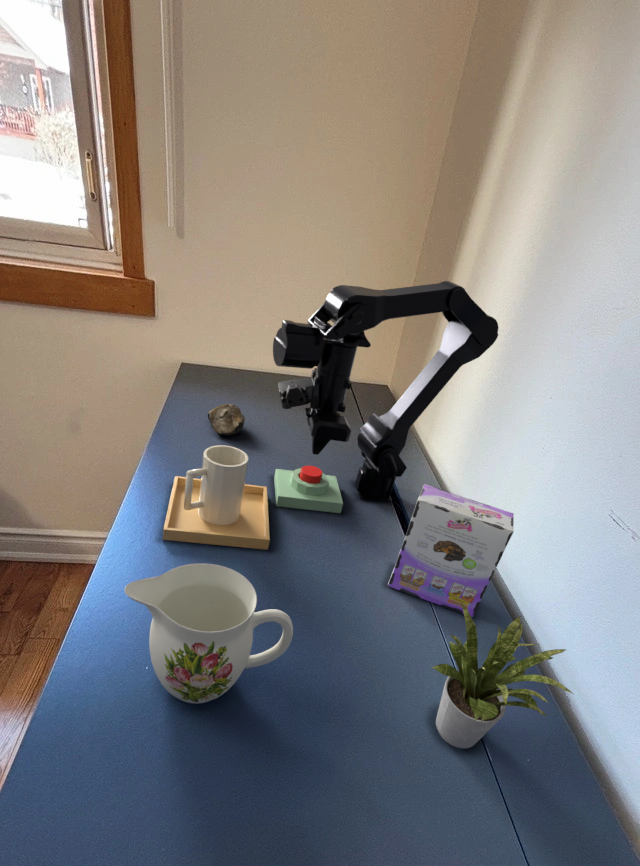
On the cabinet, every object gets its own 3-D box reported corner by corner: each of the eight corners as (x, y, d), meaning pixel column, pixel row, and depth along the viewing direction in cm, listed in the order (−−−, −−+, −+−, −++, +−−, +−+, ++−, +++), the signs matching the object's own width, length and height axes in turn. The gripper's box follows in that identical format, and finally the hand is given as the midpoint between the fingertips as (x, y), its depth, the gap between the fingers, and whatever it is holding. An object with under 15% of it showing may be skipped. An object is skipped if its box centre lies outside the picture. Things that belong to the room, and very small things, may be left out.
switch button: (319, 475, 102) (321, 467, 101) (321, 485, 98) (323, 477, 97) (298, 472, 101) (300, 464, 100) (300, 483, 98) (302, 474, 97)
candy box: (475, 596, 86) (516, 512, 77) (472, 619, 81) (515, 532, 72) (394, 566, 88) (424, 481, 80) (386, 586, 84) (417, 498, 75)
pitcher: (287, 717, 60) (311, 631, 53) (118, 723, 56) (117, 629, 48) (276, 643, 69) (295, 561, 62) (128, 643, 64) (130, 553, 57)
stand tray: (265, 495, 98) (266, 486, 97) (267, 549, 85) (269, 539, 84) (174, 485, 95) (175, 475, 94) (162, 539, 82) (163, 529, 81)
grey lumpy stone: (247, 432, 113) (248, 420, 122) (234, 403, 110) (236, 393, 119) (214, 445, 114) (218, 432, 123) (200, 416, 111) (205, 405, 120)
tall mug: (226, 499, 94) (233, 442, 88) (247, 520, 90) (256, 462, 84) (173, 510, 88) (177, 451, 82) (193, 533, 84) (198, 473, 78)
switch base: (333, 485, 107) (338, 468, 105) (340, 513, 99) (345, 495, 97) (274, 478, 104) (277, 460, 102) (276, 506, 96) (279, 487, 94)
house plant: (529, 815, 57) (605, 720, 48) (402, 778, 57) (453, 677, 48) (511, 706, 69) (569, 614, 60) (406, 676, 69) (448, 581, 60)
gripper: (282, 344, 94) (269, 425, 103) (289, 381, 79) (272, 473, 87) (343, 355, 96) (325, 433, 105) (361, 393, 81) (338, 481, 90)
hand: (315, 453), depth 97 cm, fingers closed
